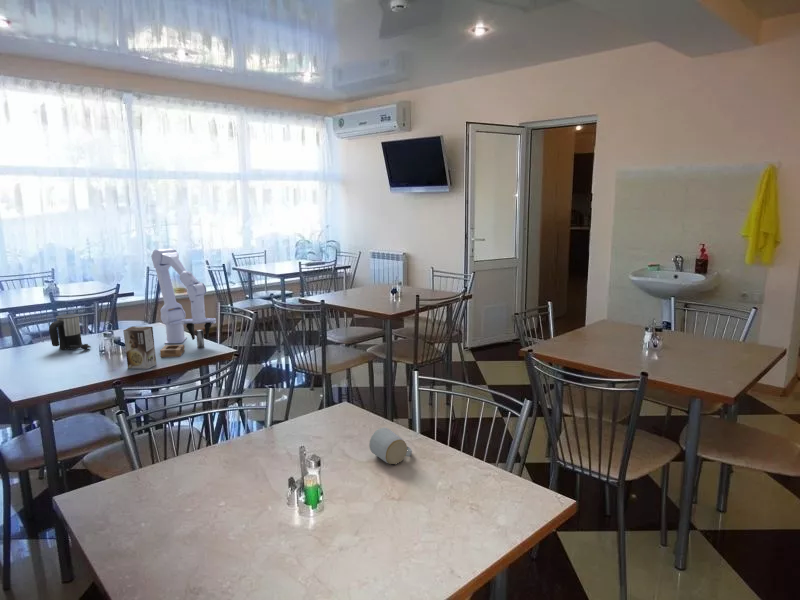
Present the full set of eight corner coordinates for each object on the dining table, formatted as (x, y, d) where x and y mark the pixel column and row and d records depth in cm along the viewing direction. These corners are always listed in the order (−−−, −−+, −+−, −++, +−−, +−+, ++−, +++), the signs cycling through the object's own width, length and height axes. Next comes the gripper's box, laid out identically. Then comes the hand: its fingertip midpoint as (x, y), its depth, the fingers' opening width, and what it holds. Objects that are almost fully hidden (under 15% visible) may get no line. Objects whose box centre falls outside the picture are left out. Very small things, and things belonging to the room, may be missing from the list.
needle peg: (198, 346, 245) (196, 329, 243) (205, 346, 245) (203, 329, 244) (196, 348, 242) (195, 331, 240) (203, 348, 242) (202, 331, 241)
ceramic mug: (386, 470, 135) (387, 442, 134) (368, 457, 142) (368, 430, 140) (418, 458, 142) (419, 431, 140) (400, 447, 148) (400, 421, 147)
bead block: (165, 351, 237) (165, 345, 236) (184, 350, 238) (184, 344, 237) (160, 357, 229) (160, 350, 228) (180, 356, 230) (179, 349, 229)
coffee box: (157, 364, 219) (153, 326, 216) (148, 369, 213) (144, 330, 210) (136, 363, 220) (132, 325, 217) (126, 368, 214) (122, 329, 211)
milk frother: (66, 344, 248) (62, 313, 245) (101, 343, 249) (97, 313, 246) (48, 353, 234) (44, 320, 232) (85, 352, 235) (81, 320, 232)
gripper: (179, 312, 235) (181, 342, 238) (213, 311, 237) (215, 340, 240) (182, 309, 242) (185, 337, 245) (216, 308, 244) (217, 336, 247)
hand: (200, 339), depth 243 cm, fingers open, 5 cm apart
